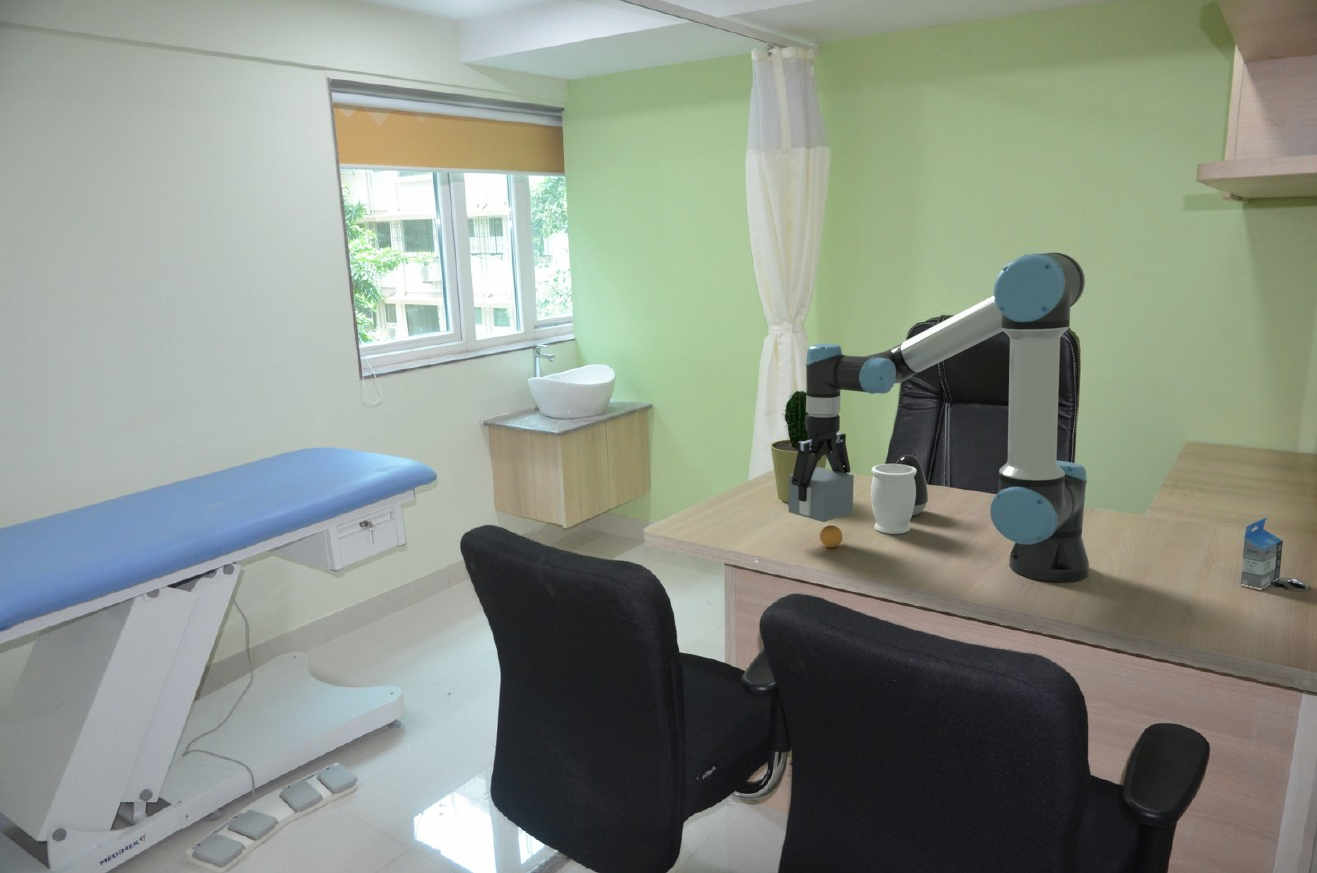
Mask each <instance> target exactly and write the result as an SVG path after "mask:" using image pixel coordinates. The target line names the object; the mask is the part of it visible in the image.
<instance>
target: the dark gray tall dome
mask: <svg viewBox="0 0 1317 873" xmlns="http://www.w3.org/2000/svg"><path fill="white" fill-rule="evenodd" d="M895 464H902V465H907V466H911V467H914V468H915V469H916V475H915V476H914V479H915V485H916V498H915V504H914V508H913V514H912V517H914V516H918V515H920V514H921V513H922V512H924V510H925V509H926V506H927V503H928V502H929V492H928V485H927V480H926V475H925V472H924V469H923V466H922V465H921V462H920V461H919V459H918V458H917V454H915V453H912V455H911V454H904V455H902V456H900V457H899V458H898V459H897V461H896V462H895Z"/></svg>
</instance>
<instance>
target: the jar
mask: <svg viewBox="0 0 1317 873" xmlns="http://www.w3.org/2000/svg"><path fill="white" fill-rule="evenodd" d="M871 473H872V475H873V476H872V481H871V485H870V499H871V500H870V501H871V507H872V514H873V517H874V520H875V521H876V522H875V524H874V525H873V526H874V529H875V530H876V531H878V532H880V533H884V534H889V535H900V534H905V533H908V532H909V531H910V530H911V527H910V525H909V523H910V521H911V520H912V517H913V516H912V514H913V508H914V504H915V498H916V485H915V479H914V476H915V475H916V469H915V468H914V467H911V466H907V465H902V464H896V463H881V464H877V465H874V466H872V467H871Z"/></svg>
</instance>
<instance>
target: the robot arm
mask: <svg viewBox="0 0 1317 873" xmlns="http://www.w3.org/2000/svg"><path fill="white" fill-rule="evenodd" d="M1085 279H1086V278H1085V272H1084V270H1083V269H1082V267H1081V265H1080V263H1079V262H1077V260H1075V259H1074V258H1073V257H1071V256H1069V255H1068V254H1065V253H1062V252H1047V253H1035V252H1034V253H1030V254H1024V255H1021V256H1020V257H1018V258H1015V259H1013V260H1011V261H1009V263H1007V264H1006V265H1004V267H1002V269H1001V270H1000V271H999V273H998V274H997V276H996V279H995V282H994V285H993V294H992V295H991V296H988V297H987V298H985V299H982V300H981V301H979V302H977V303H975V304H973V305H972V306H970V307H967V308H966V309H964V310H962V311H960V312H958V313H956V314H955V315H952V316H950V317H949V318H946V319H945V320H943V321H941V322H939V323H937V324H935V325H933V326H931V327H930V328H927V329H925V330H924V331H922V332H920V333H918V334H915V335H914V336H912V337H910V338H908V339H907V340H905V341H903V342H901V343H899V344H897V345H895V346H893V347H891V348H889V349H887V350H884V351H882V352H878V353H873V354H870V355H869V354H868V355H865V356H863V355H862V356H859V355H858V356H857V355H846V354H843V352H842V346H840V345H839V344H834V343H816V344H812V345H810V346H808V348H807V351H806V352H807V353H806V363H805V367H806V369H805V370H806V371H805V372H806V376H805V379H806V388H805V389H806V412H807V413H809V414H807V415H806V431H807V432H808V433H809V436H808V440H807V441H804V442H803V441H799V442H798V454H797V459H796V463H795V468H794V473H793V477H792V485H796V486H798V488H799V492H798V499H799V501H800V505H799V513H800V514H803V515H807V516H810V515H811V487H808V486H809V483H810V481H811V478H812V476H813V473H814V470H815V468H816V465H817V462H818V461H819V460H820V459H821V457H822V456H824V455H826V457H827V461H828V463H829V466H830V468H831V470H833V471H838V472H842V473H846V474H850V472H851V466H850V460H849V455H848V450H847V449H848V448H847V443H846V442H847V440H846V438H847V435H846V433H842V432H839V431H840V426H841V425H840V424H841V416H840V412H841V392H842V391H852V392H859V393H868V394H869V395H874V394H887V393H889V392H890V391H891V390H892V389H893V387H894V386H895V384H901V383H904V382H905V381H907V380H909V379H910V378H912V377H913V376H914V375H916V374H918V373H920V372H922V371H925V370H926V369H928V368H930V367H933V366H934V365H937V364H939V363H941V362H943V361H945V360H948V359H949V358H951V357H953V356H954V355H955V356H956V355H958V354H959V353H962V352H963V351H966V350H968V349H969V348H971V347H973V346H975V345H977V344H979V343H982V342H984V341H986V340H988V339H990V338H992V337H994V336H996V335H997V334H1000V333H1005V334H1006V335H1007V336H1008V337H1009V366H1008V368H1009V370H1008V372H1009V373H1008V374H1009V375H1008V376H1009V378H1008V379H1009V380H1008V382H1009V383H1008V419H1007V420H1008V423H1007V424H1008V425H1007V426H1008V427H1007V428H1008V430H1007V434H1008V435H1007V462H1006V463H1005V464H1004V465H1003V466H1001V467H1000V468H999V470H998V492H997V493H996V494H995V496H994V497H993V500H992V501H991V504H990V510H989V511H990V518H991V522H992V524H993V526H994V527H995V529H996V530H997V531H998V532H999V533H1000V534H1001V535H1002V536H1003V537H1004V538H1006V539H1007V540H1009V541H1010V542H1012V543H1014V544H1013V547H1012V548H1011V551H1010V554H1009V559H1008V560H1009V561H1008V562H1009V564H1008V566H1009V568H1010V569H1011V570H1012V571H1013V572H1015V573H1016V574H1019V575H1020V576H1023V577H1026V578H1029V579H1032V580H1038V581H1044V582H1050V583H1051V582H1052V583H1069V582H1070V583H1071V582H1076V581H1082V580H1083V579H1086V578H1087V577H1088V576H1089V570H1090V563H1089V557H1088V555H1087V551H1086V547H1085V544H1084V541H1083V526H1084V525H1083V524H1084V523H1083V522H1084V511H1085V502H1086V501H1085V499H1086V487H1087V482H1088V479H1087V469H1086V468H1085V466H1083V465H1082V464H1079V463H1076V462H1070V461H1063V460H1057V459H1058V458H1057V453H1058V451H1057V450H1058V418H1059V416H1058V415H1059V391H1060V390H1059V388H1060V380H1059V379H1060V356H1061V355H1060V352H1061V337H1062V335H1064V333H1066V332H1067V330H1068V329H1070V325H1071V324H1070V320H1071V308H1072V307H1073V306H1074V305H1075V304H1076V303H1077V302H1078V301H1079V299H1080V298H1081V296H1082V295H1083V292H1084V289H1085V284H1086V280H1085ZM841 390H842V391H841ZM812 453H813V454H814V455H813V454H812ZM804 480H805V482H804Z"/></svg>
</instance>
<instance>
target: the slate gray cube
mask: <svg viewBox="0 0 1317 873" xmlns="http://www.w3.org/2000/svg"><path fill="white" fill-rule="evenodd" d="M792 477H793V474H791V475H789V503H788V513H790V514H793V515H797V516H801V517H804V518H808V519H811V520H814V521H818V522H821V523H825V522H828V521H832V520H834V519H838V518H841V517H844V516H847V515H849V514H853V512H854V474H850V473H847V474H846V473H842V472H838V471H833V470H832V469H828V468H826V467H825V468H820V467H817V468H815V470H814V473H813V476H812V478H811V481H810V483H809V486H808V487H811V515H810V516H807V515H803V514H800V513H799V505H800V501H799V499H798V492H799V488H798V486H796V485H792ZM804 482H805V480H804Z"/></svg>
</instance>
